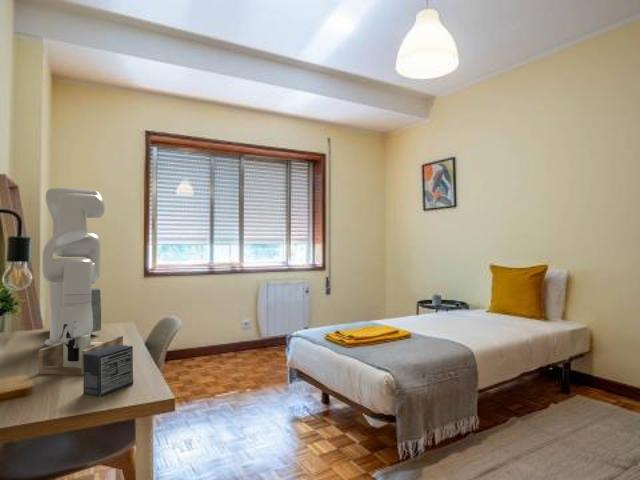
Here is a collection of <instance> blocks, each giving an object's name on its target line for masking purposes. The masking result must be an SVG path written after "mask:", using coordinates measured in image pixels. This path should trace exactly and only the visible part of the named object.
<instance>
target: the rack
mask: <svg viewBox="0 0 640 480" xmlns="http://www.w3.org/2000/svg"><path fill="white" fill-rule="evenodd" d="M114 345H124V336H123V335H118V336H117V337H113V338H111V339H108V340H106V341H103V343H101V344H98V345H96V346H93V347H90V348H88V349H85V350H83V351H82V366H81V367H63V343H58V344H55V345H52V346H49V345H48V346H47V347H44V348H41V349H38V375H63V376H83V374H84V372H83V354H85V353H88V352H92V351H95V350H99V349H103V348H106V347H110V346H114Z"/></svg>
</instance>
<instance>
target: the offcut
mask: <svg viewBox="0 0 640 480" xmlns="http://www.w3.org/2000/svg"><path fill="white" fill-rule="evenodd" d="M103 342H104V341H103ZM103 342H102V341H99V342H98V341H97V342H96V341H95V342H94V341H91V343H90V347H93V346H96V345H98V344H101V343H103Z"/></svg>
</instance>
